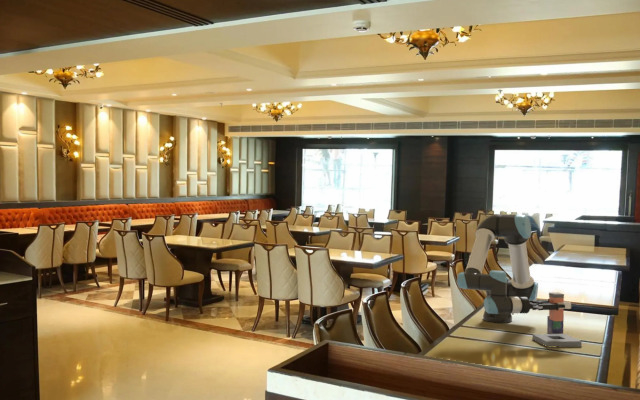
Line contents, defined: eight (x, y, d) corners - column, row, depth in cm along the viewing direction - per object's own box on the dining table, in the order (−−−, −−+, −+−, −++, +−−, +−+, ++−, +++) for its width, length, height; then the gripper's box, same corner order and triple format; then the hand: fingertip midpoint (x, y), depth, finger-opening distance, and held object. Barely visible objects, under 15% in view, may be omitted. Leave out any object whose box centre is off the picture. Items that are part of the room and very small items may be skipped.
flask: (549, 334, 271) (549, 312, 271) (545, 333, 274) (545, 311, 274) (564, 333, 274) (564, 311, 274) (560, 332, 277) (560, 310, 277)
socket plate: (532, 339, 262) (532, 334, 262) (565, 339, 263) (565, 333, 263) (547, 347, 248) (547, 341, 248) (581, 346, 249) (581, 341, 249)
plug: (548, 318, 258) (548, 292, 258) (558, 318, 258) (558, 292, 258) (553, 321, 253) (554, 294, 253) (563, 320, 253) (563, 294, 253)
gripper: (510, 309, 263) (557, 309, 265) (527, 317, 245) (578, 316, 247) (510, 293, 263) (557, 293, 265) (527, 300, 245) (578, 299, 247)
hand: (567, 304), depth 256 cm, fingers closed on plug, 4 cm apart
